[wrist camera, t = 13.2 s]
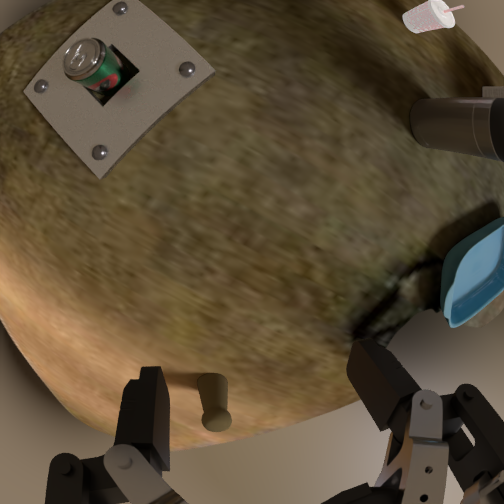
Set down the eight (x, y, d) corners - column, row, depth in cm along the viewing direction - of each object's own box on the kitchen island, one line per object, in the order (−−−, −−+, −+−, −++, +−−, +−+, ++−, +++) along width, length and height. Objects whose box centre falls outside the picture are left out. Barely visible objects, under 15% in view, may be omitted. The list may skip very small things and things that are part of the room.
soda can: (137, 71, 29) (113, 42, 18) (116, 102, 30) (83, 86, 19) (110, 58, 27) (78, 29, 16) (89, 88, 28) (50, 70, 17)
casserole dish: (424, 327, 57) (441, 343, 51) (427, 248, 48) (450, 262, 42) (501, 268, 59) (517, 278, 52) (507, 200, 50) (526, 207, 43)
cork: (209, 396, 51) (214, 439, 41) (190, 381, 49) (192, 426, 39) (233, 384, 51) (242, 428, 41) (215, 368, 49) (221, 414, 39)
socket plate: (129, -3, 24) (124, -12, 21) (214, 75, 31) (215, 69, 28) (31, 93, 26) (21, 91, 23) (105, 177, 34) (98, 180, 31)
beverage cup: (425, 40, 32) (478, 28, 19) (402, 31, 31) (456, 14, 18) (419, 15, 30) (469, -1, 17) (396, 5, 29) (446, -16, 16)
